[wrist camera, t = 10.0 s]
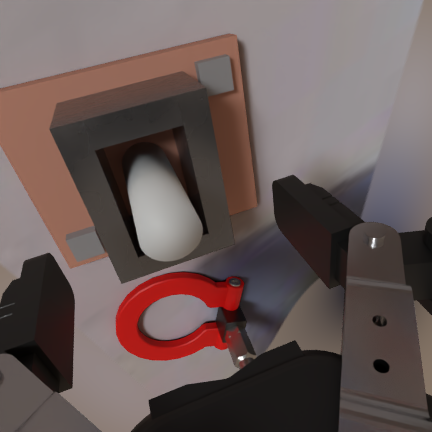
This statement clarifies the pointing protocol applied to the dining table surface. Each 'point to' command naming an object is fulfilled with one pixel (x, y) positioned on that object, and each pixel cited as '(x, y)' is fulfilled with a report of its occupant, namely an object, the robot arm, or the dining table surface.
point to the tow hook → (205, 335)
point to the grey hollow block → (132, 129)
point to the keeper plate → (79, 83)
